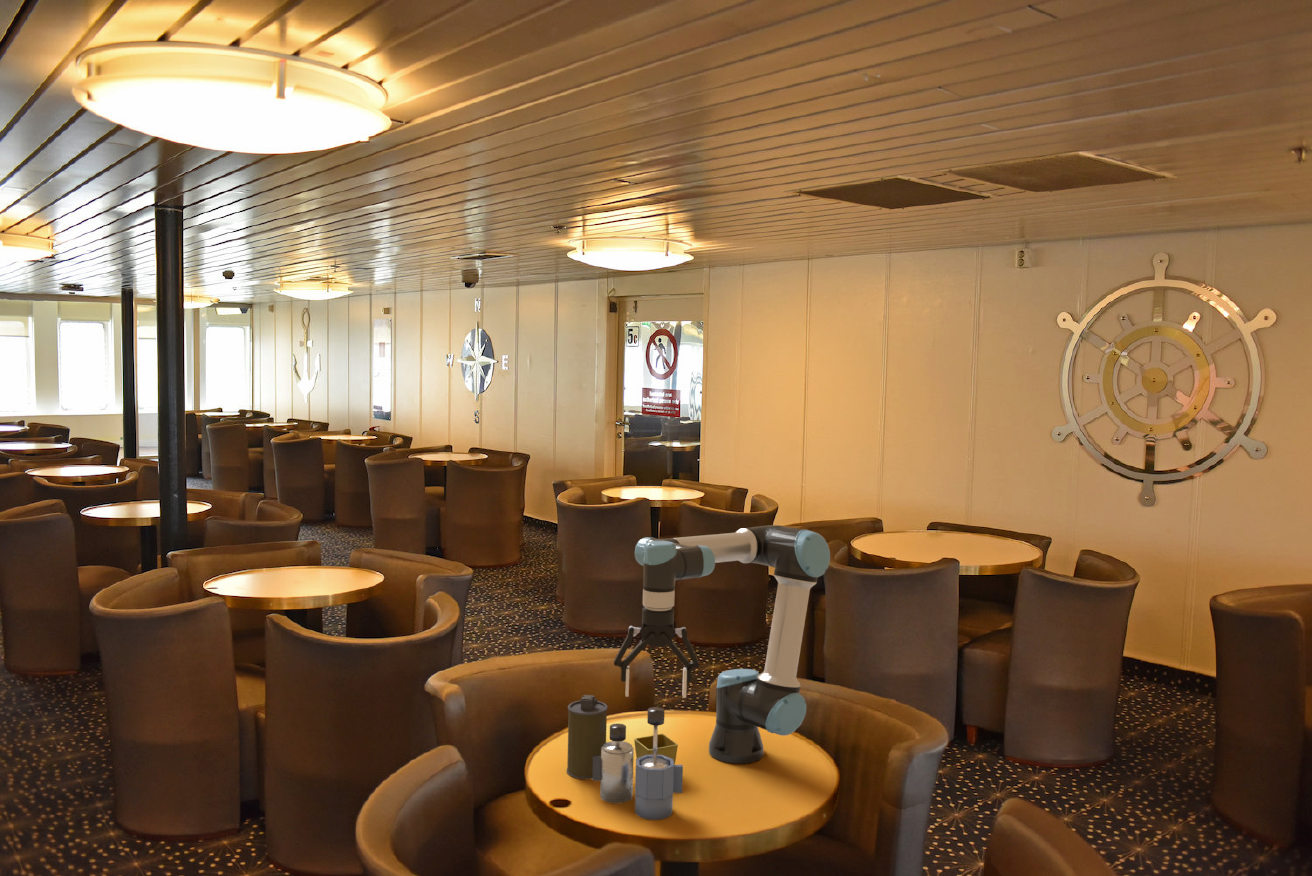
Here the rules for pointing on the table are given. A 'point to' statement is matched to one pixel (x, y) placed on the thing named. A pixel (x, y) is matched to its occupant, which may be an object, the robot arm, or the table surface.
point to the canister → (585, 735)
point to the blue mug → (656, 788)
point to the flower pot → (663, 746)
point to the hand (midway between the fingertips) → (655, 695)
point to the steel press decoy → (615, 767)
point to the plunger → (655, 738)
